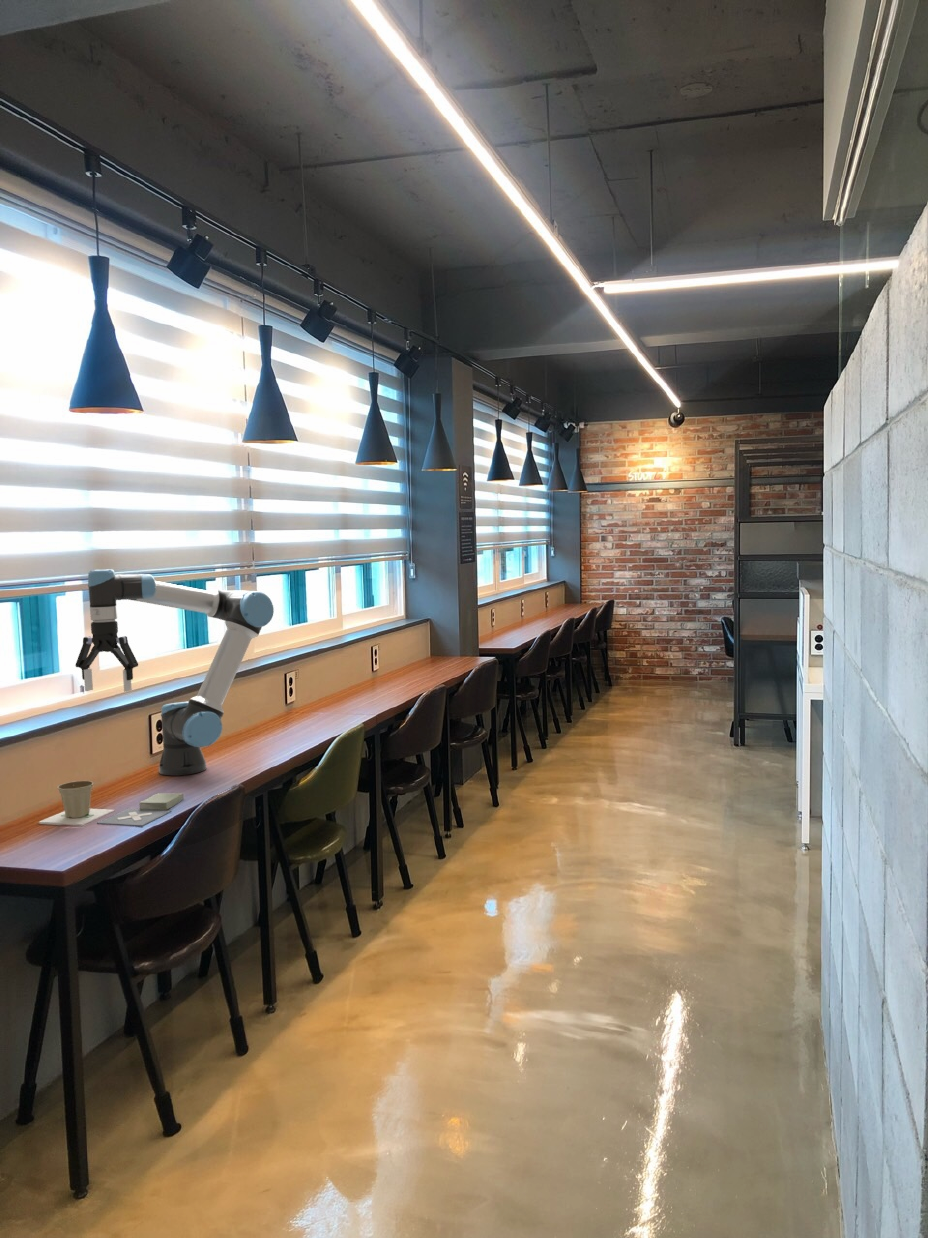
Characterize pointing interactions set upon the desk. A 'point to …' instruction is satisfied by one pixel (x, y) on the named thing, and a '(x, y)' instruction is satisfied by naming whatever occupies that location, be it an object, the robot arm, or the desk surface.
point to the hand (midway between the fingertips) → (108, 690)
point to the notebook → (161, 801)
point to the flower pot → (76, 798)
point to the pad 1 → (62, 819)
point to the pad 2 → (134, 817)
